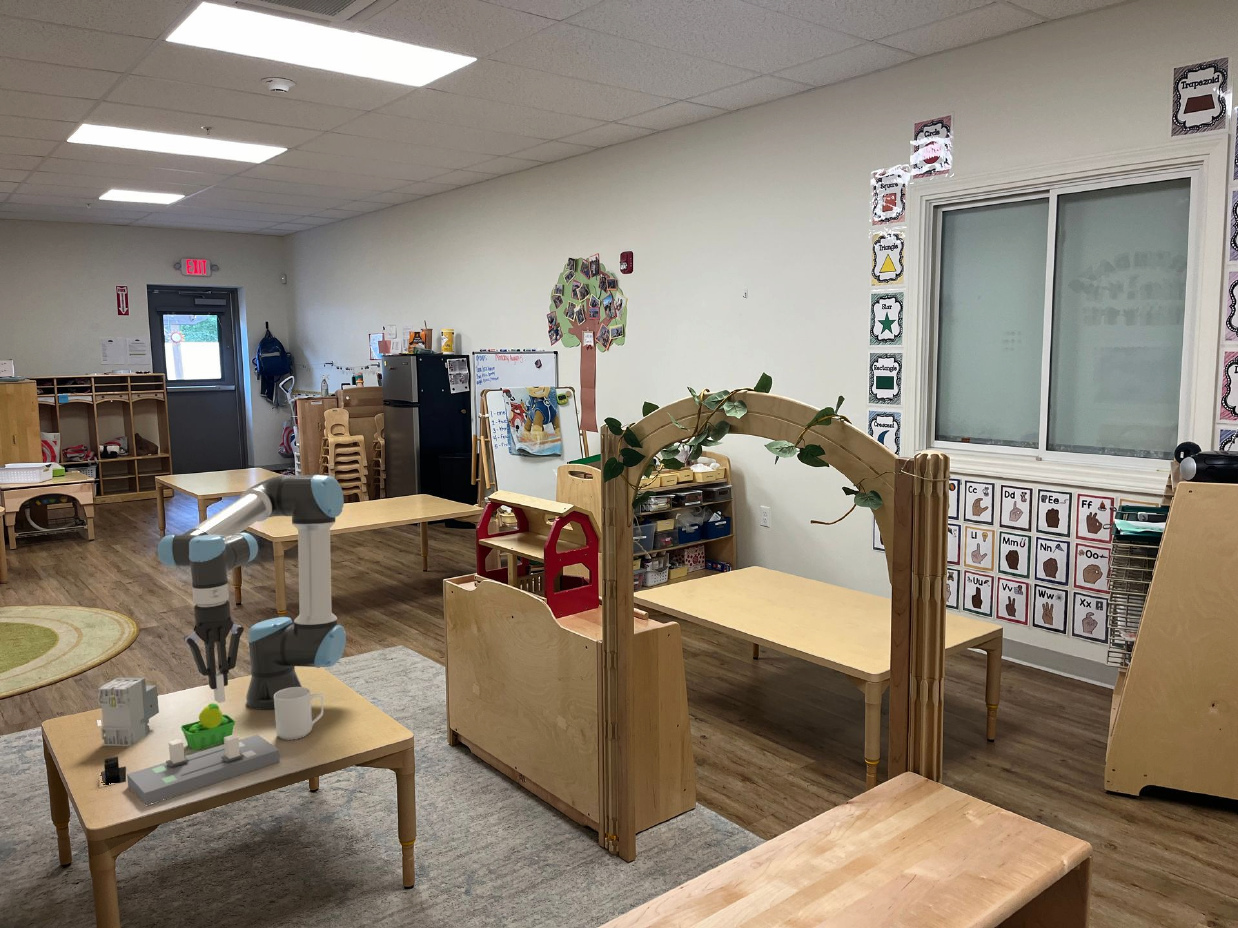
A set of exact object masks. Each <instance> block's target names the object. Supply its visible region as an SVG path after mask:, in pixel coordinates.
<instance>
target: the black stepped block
mask: <svg viewBox="0 0 1238 928" xmlns="http://www.w3.org/2000/svg"><path fill="white" fill-rule="evenodd" d="M103 759H104V761H103V762H104V763H103V764H104V765H103V766H104V767H103V768H104V770H102V772H101V775H100V776H102V781H103V782H101V783H105V784H103V785H109V783H110V784H111V783H118V784H122V783H126V782H127V767H126V766H120V761H119V760H120V759H119V756H114V757H108V758H103ZM109 786H110V785H109Z"/></svg>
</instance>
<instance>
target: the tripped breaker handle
mask: <svg viewBox="0 0 1238 928" xmlns="http://www.w3.org/2000/svg"><path fill="white" fill-rule="evenodd" d="M239 740H240V739H239V736H237V735H236V734H233V733H232V735H230V736H227V737H224V742H223V743H224V744H223V745H224V747H225V755H224V756H221V758H222V759H223V760H224V761H225V762H229V761H233V760H236V759H239V758H242V757H244V755H243V754H242V753H240V752H239Z"/></svg>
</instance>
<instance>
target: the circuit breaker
mask: <svg viewBox="0 0 1238 928" xmlns="http://www.w3.org/2000/svg"><path fill="white" fill-rule="evenodd" d="M97 691H98V692H99V693H98V694H97V699H98V705H99V706H101V717H102V727H101V728H100V733H101V740H103V743H102V746H105V745H106V746H107V747H108V746H111V747H113V746H114V747H132V745H134V744H135V743H137V742H138V741H140V740H142V739H143V738H144V737H146V736H148V735H149V734H150V733H151V730H150V729H151V728H150V725H148V724H150V719H151V718H153V717H154V716H156V715H157V714H160V710H159V699H158V697H159V692H158V686H157V685H147V683H146V678H145V677H117V678H114V679H112V680H111V681H109V682H107V683H105V684H103V685H102V686H100V687H98V688H97ZM106 746H105V747H106Z"/></svg>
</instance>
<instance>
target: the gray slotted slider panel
mask: <svg viewBox="0 0 1238 928" xmlns="http://www.w3.org/2000/svg"><path fill="white" fill-rule="evenodd" d="M238 740H239V752H240V753H242V754H243V755H244V757H242V758H239V759H236V760H233V761H229V762H225V761H224V760H223V759H222V758H221V756H224V755H225V747H224V744H221V745H219V746H215V747H211V748H208V749H205V750H202V751H198V752H194V753H193V754H188V755H186V756H185V755H184V756H185V757H186V758H187V759H189V762H186V763H183V764H180V765H176V766H173V767H170V766H169V765H168V764H167V763H166V761H165V762H163V763H159V764H156V765H153V766H149V767H146V768H143V769H140V770H136V771H133V772H130V773H126V780H127V787H128V788H129V789H130V790H131V791H132V792H133V793H134V795H135V794H136V795H135V796H136V797H137V796H138V797H139V798H138V797H137V798H138V800H140V799H141V800H140V801H141V802H142V801H143V802H142V804H145V805H148V806H150V805H149V804H151V803H154V804H156V803H155V802H157V801H160V802H162V801H161V800H163V799H166V800H168V798H169V799H171V798H170V797H172V798H174V796H175V797H177V795H178V796H181V795H184V794H186V793H190V792H193V791H195V790H198V788H199V789H201V788H204V787H208V786H210V785H214V784H217V783H219V782H220V783H221V782H223V781H226V780H229V779H231V778H234V777H237V776H240V775H244V774H246V773H250V772H253V771H256V770H259V769H262V768H265V767H269V766H271V765H273V764H276V763H280V762H281V757H280V749H279V748H277V747H276V746H274V745H273V744H272V743H270V742H269V741H268V740H266V739H264V737H262V736H261V735H260V734H254V735H250V736H247V737H243V738H241V739H238ZM279 761H280V762H279ZM192 790H193V791H192ZM180 794H181V795H180ZM163 801H164V800H163ZM157 803H158V802H157ZM145 805H144V806H145ZM151 805H152V804H151Z"/></svg>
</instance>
